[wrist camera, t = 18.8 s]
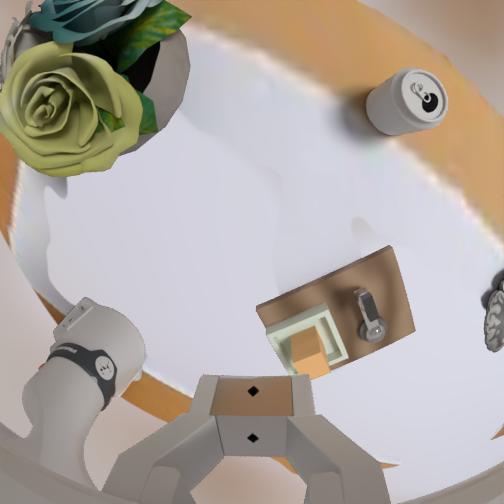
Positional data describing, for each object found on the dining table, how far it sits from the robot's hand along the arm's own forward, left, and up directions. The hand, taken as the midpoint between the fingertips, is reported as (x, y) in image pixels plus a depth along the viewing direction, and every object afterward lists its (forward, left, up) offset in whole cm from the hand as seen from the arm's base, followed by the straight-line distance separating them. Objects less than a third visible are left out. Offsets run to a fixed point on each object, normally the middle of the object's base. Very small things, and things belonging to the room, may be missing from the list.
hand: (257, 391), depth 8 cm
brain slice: (+37, -36, -34) cm, 62 cm away
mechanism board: (+3, -20, -34) cm, 39 cm away
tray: (-3, -20, -32) cm, 38 cm away
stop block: (-3, -20, -32) cm, 38 cm away
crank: (+7, -19, -31) cm, 37 cm away
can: (+22, +6, -34) cm, 41 cm away
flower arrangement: (-9, +25, -34) cm, 43 cm away
